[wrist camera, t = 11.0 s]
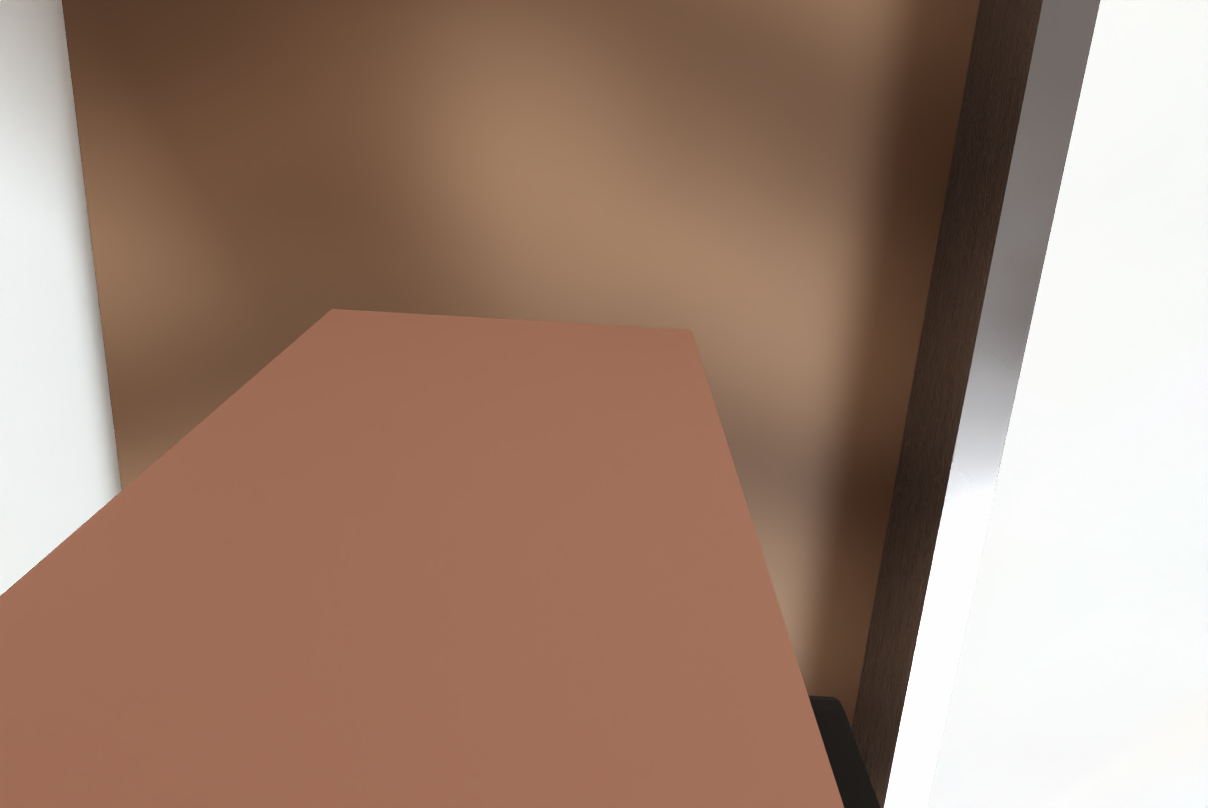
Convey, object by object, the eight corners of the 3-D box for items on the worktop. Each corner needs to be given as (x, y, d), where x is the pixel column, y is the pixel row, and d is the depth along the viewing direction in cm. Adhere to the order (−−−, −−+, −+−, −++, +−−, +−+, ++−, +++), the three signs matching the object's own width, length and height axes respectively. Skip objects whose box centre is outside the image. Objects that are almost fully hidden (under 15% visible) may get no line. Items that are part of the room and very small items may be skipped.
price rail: (867, 859, 21) (900, 953, 19) (828, 857, 21) (855, 951, 19) (1062, -139, 15) (1146, -179, 12) (1004, -142, 15) (1078, -184, 12)
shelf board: (858, 820, 22) (872, 860, 21) (186, 789, 22) (163, 827, 21) (1034, -122, 16) (1067, -138, 15) (78, -186, 15) (36, -208, 14)
